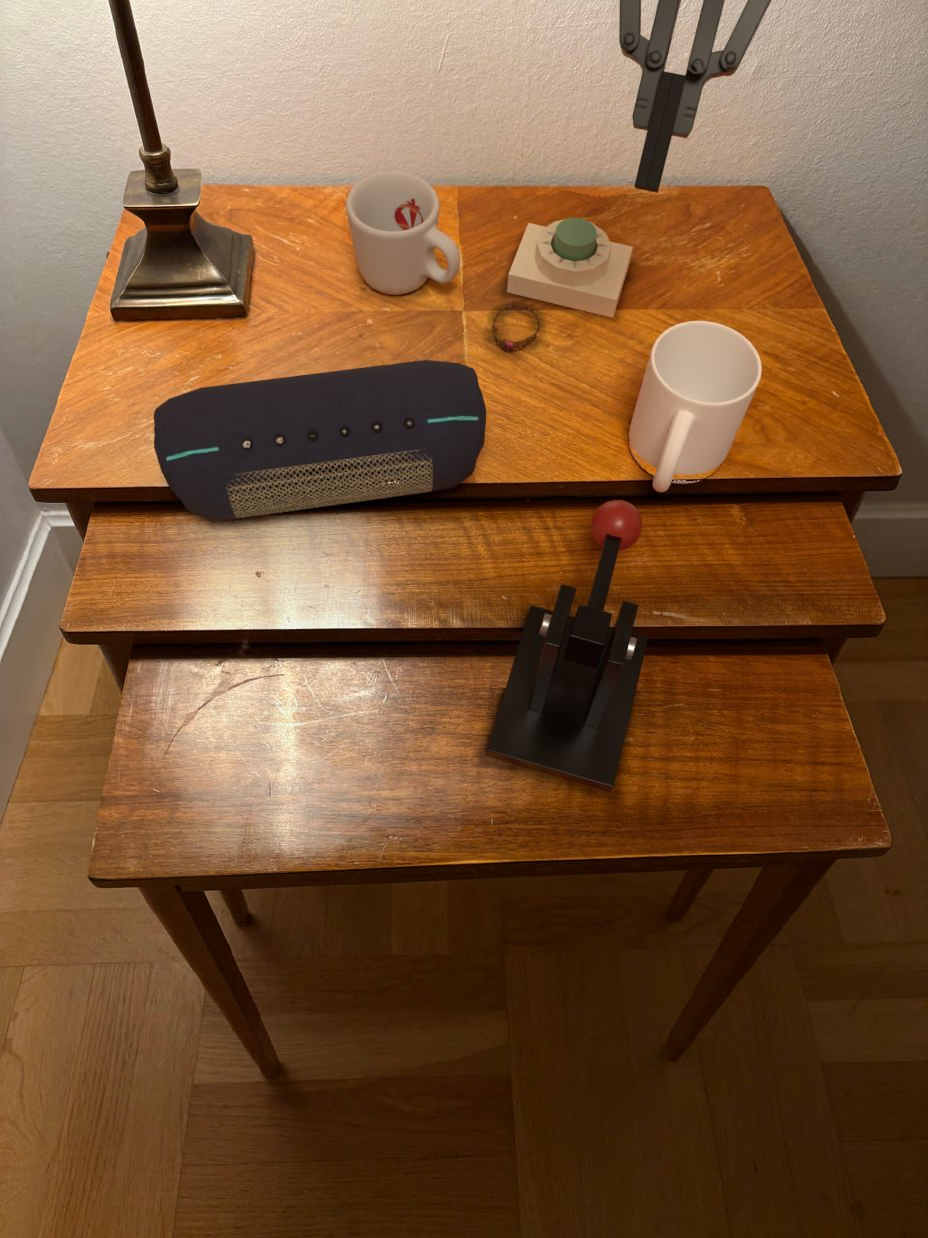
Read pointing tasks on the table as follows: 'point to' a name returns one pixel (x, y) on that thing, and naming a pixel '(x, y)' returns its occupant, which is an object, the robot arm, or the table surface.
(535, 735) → the lever base
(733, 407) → the mug
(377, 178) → the cup
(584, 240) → the button
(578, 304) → the button block
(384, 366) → the portable speaker
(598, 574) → the lever
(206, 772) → the table surface
